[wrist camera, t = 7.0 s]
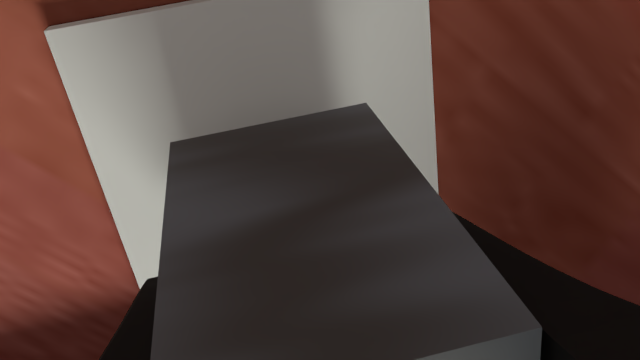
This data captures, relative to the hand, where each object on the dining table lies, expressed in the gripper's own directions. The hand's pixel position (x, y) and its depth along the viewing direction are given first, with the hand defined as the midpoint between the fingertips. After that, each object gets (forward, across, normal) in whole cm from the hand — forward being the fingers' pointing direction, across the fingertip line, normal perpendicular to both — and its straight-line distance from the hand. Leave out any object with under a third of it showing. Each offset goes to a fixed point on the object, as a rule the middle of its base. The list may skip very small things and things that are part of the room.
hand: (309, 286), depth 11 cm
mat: (+6, 0, 0) cm, 6 cm away
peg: (+3, 0, 0) cm, 3 cm away
